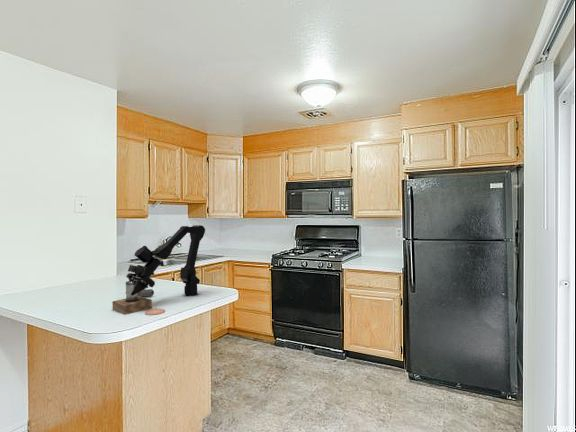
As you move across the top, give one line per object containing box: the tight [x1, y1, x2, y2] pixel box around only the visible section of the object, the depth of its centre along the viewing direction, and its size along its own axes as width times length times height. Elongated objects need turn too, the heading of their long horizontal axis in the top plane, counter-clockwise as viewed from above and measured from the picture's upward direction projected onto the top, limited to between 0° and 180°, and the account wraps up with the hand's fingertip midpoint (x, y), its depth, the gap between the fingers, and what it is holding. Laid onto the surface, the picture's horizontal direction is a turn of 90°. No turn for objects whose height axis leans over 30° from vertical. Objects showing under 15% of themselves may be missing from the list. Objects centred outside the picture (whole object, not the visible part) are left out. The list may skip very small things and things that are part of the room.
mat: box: [144, 308, 166, 316], centre depth 160 cm, size 9×9×1 cm
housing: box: [112, 296, 153, 315], centre depth 167 cm, size 13×13×4 cm
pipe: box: [137, 288, 155, 297], centre depth 191 cm, size 6×13×8 cm, turn 78°
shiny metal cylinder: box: [125, 280, 138, 303], centre depth 167 cm, size 5×5×12 cm
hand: (128, 294), depth 166 cm, fingers closed on shiny metal cylinder, 5 cm apart
